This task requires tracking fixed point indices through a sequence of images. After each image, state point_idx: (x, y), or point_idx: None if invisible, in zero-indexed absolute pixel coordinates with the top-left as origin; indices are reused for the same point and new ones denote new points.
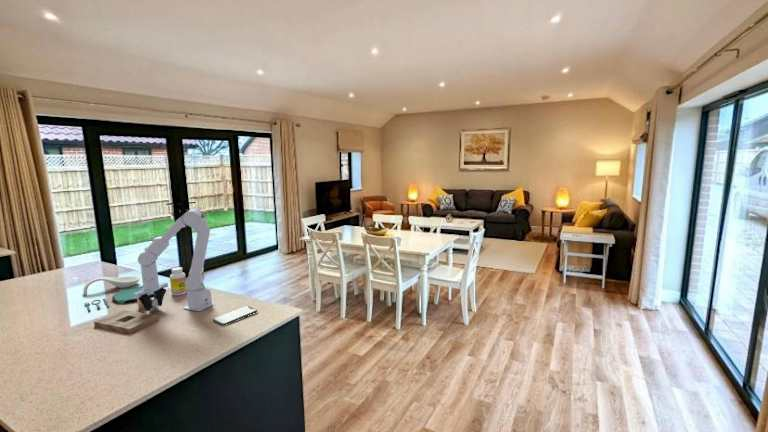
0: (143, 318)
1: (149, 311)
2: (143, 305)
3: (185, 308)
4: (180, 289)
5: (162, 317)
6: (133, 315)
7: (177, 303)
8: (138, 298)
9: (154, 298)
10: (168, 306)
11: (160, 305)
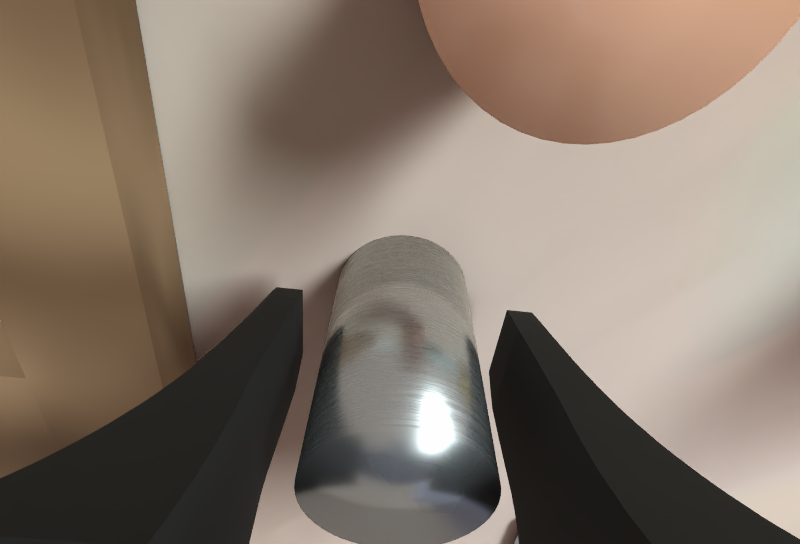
0: None
1: (344, 274)
2: (223, 340)
3: (518, 541)
4: None
5: (289, 472)
6: (17, 290)
7: (722, 373)
8: (3, 492)
9: (420, 512)
10: (610, 337)
11: (491, 379)
